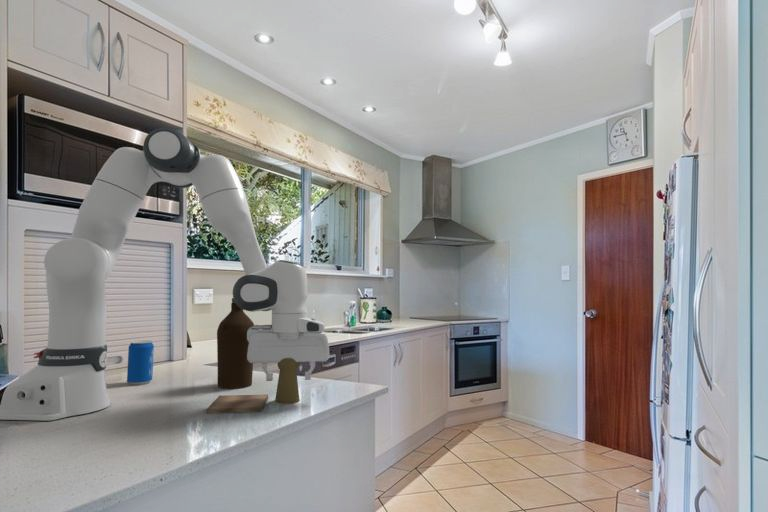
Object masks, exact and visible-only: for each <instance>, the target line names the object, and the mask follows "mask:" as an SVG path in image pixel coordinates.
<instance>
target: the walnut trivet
mask: <svg viewBox="0 0 768 512" xmlns="http://www.w3.org/2000/svg"><path fill="white" fill-rule="evenodd" d="M268 399H269V394H267V393H266V394H265V393H264V394H262V393H261V394H236V395H235V394H232V395H218V397H217V398H216V399H214V400H213V401H212V403H211V404H210V405H209V406H208V407H207V408H206V414H221V413H222V414H224V413H226V414H227V413H229V414H230V413H251V412H252V413H255V412H256V413H257V412H260V413H261V412H263V410H264V408H265V406H266V404H267V402H268Z"/></svg>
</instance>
